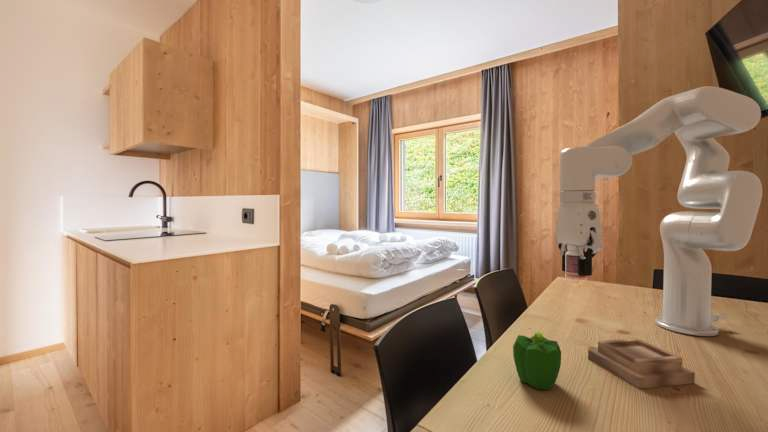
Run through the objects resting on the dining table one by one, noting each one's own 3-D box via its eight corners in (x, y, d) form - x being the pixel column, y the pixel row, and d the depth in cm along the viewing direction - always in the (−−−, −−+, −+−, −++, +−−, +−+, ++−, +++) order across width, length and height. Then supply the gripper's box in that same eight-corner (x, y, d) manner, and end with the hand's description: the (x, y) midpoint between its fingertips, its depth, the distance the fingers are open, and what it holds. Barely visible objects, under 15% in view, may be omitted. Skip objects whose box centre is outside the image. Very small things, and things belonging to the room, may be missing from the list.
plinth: (636, 354, 74) (636, 335, 73) (694, 383, 62) (694, 360, 62) (588, 358, 72) (588, 339, 72) (638, 388, 60) (639, 365, 60)
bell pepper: (516, 367, 68) (516, 319, 68) (561, 377, 64) (562, 326, 63) (508, 386, 61) (509, 332, 60) (559, 399, 56) (560, 342, 56)
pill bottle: (591, 280, 78) (591, 245, 78) (569, 280, 79) (569, 245, 79) (583, 276, 83) (583, 243, 82) (562, 275, 84) (562, 242, 83)
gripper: (620, 197, 72) (619, 280, 73) (566, 199, 89) (566, 266, 90) (590, 198, 71) (589, 281, 72) (540, 199, 88) (540, 267, 89)
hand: (576, 272), depth 81 cm, fingers closed on pill bottle, 4 cm apart
